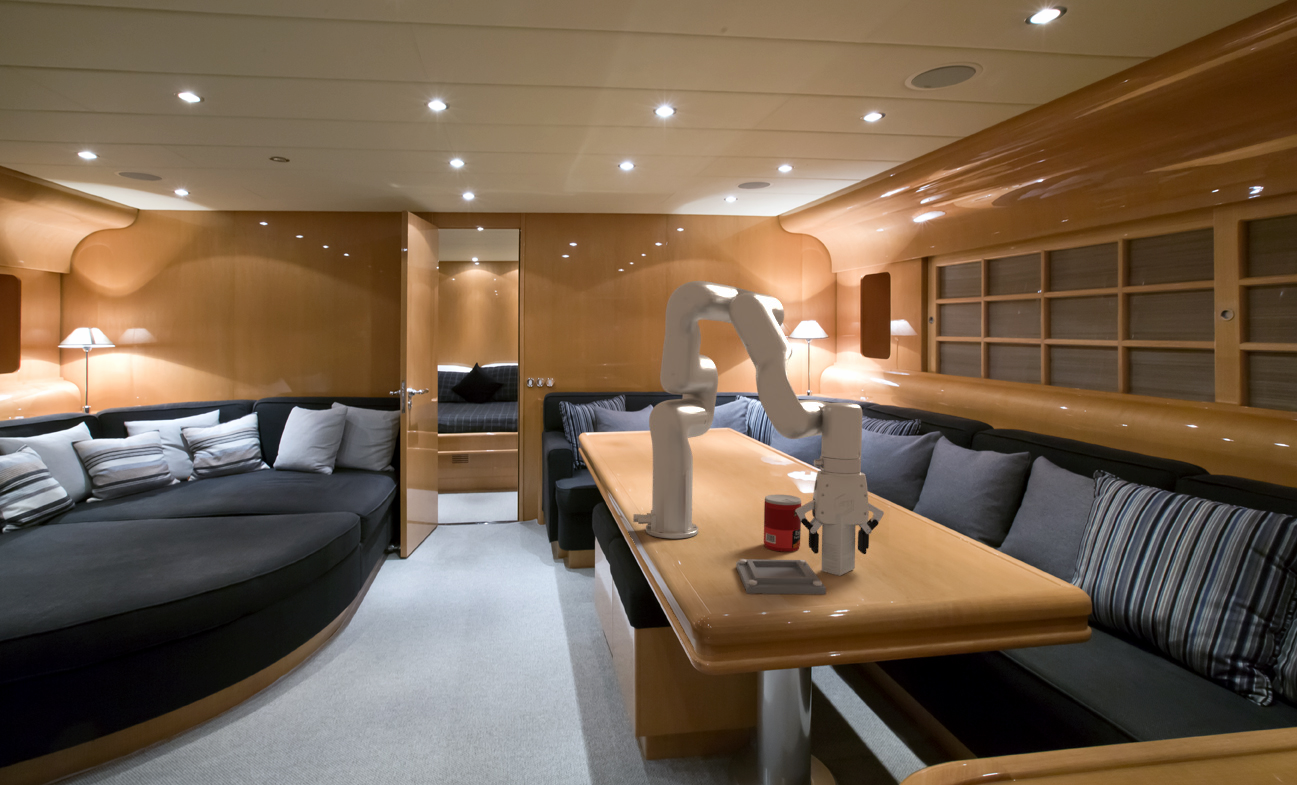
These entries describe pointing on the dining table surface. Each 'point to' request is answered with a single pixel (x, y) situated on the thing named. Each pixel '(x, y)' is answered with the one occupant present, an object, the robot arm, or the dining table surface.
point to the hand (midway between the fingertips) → (838, 551)
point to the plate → (779, 577)
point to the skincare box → (838, 547)
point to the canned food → (782, 523)
